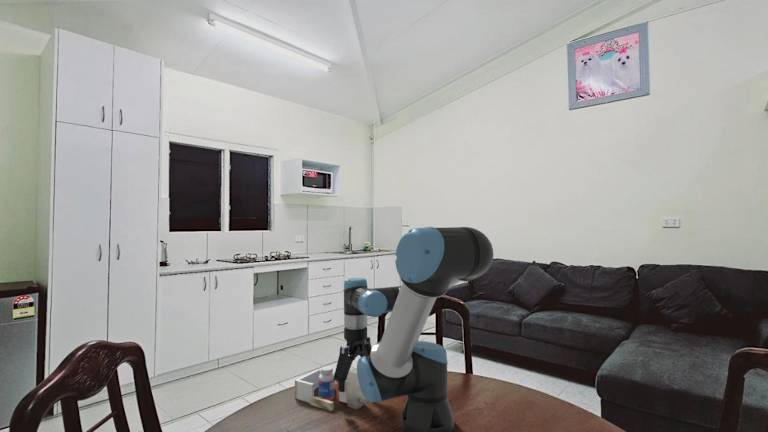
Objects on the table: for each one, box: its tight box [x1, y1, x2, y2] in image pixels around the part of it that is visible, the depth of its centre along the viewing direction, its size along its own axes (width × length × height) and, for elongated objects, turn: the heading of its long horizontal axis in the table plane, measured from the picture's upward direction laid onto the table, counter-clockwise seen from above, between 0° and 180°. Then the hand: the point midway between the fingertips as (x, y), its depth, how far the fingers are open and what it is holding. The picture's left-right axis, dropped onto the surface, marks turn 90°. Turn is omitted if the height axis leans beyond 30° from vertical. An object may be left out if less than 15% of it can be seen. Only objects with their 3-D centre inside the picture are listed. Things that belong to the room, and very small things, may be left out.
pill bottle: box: [318, 365, 336, 401], centre depth 130 cm, size 6×5×10 cm
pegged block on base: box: [336, 367, 369, 410], centre depth 125 cm, size 10×6×11 cm, turn 59°
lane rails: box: [309, 381, 337, 412], centre depth 129 cm, size 9×14×2 cm, turn 149°
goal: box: [294, 368, 335, 404], centre depth 133 cm, size 8×12×6 cm, turn 149°
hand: (355, 393), depth 124 cm, fingers open, 13 cm apart
